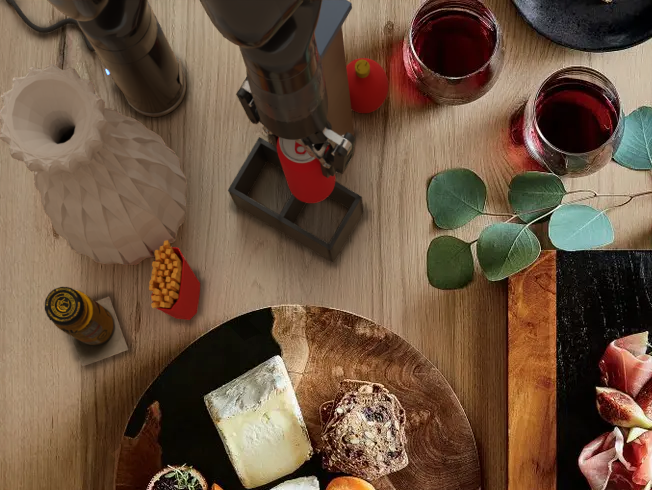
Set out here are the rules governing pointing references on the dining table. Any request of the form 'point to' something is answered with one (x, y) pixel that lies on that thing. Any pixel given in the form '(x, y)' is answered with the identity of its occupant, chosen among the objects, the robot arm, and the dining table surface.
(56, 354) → the dining table surface
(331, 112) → the post
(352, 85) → the christmas ornament
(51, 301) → the condiment
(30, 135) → the vase
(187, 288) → the french fries
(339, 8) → the gray square slab
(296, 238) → the rack
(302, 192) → the beverage can
